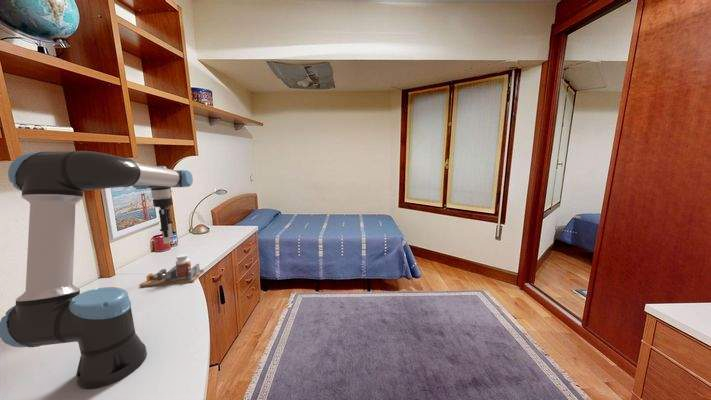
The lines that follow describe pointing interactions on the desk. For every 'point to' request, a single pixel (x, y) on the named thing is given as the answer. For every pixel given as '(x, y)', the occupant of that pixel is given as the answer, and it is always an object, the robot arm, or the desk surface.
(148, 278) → the pin
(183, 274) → the pill bottle
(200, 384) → the desk surface
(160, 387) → the desk surface
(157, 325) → the desk surface
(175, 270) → the mount
